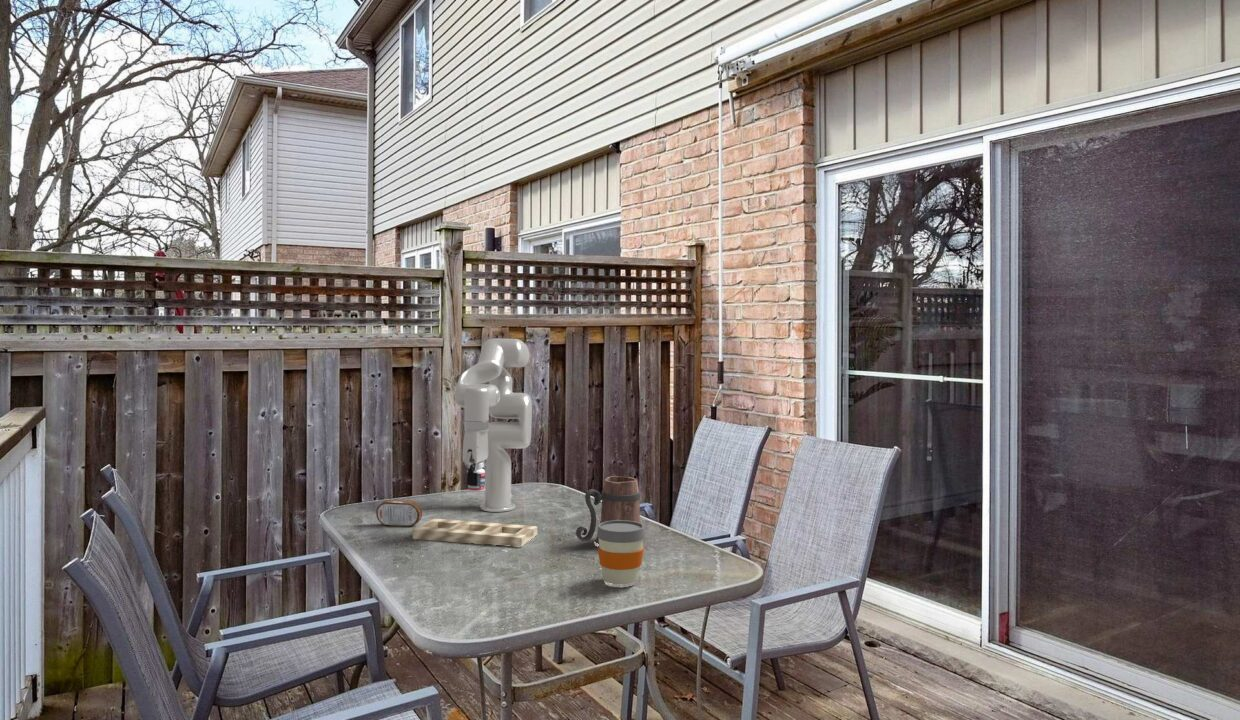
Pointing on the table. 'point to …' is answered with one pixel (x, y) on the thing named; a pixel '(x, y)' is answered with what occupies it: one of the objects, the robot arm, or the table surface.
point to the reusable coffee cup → (620, 550)
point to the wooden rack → (475, 532)
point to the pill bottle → (481, 479)
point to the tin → (398, 513)
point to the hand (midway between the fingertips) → (476, 482)
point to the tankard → (613, 503)
